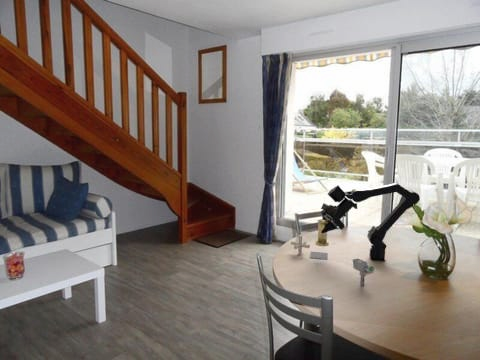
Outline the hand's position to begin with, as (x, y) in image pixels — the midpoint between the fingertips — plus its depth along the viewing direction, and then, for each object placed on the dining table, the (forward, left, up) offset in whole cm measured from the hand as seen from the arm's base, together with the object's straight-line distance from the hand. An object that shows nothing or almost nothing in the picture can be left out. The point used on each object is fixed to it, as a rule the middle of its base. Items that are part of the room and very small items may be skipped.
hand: (319, 231), depth 180 cm
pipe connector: (+10, -3, -14) cm, 17 cm away
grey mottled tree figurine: (-18, +28, -14) cm, 36 cm away
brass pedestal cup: (-1, -1, -7) cm, 7 cm away
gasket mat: (0, -3, -14) cm, 14 cm away
